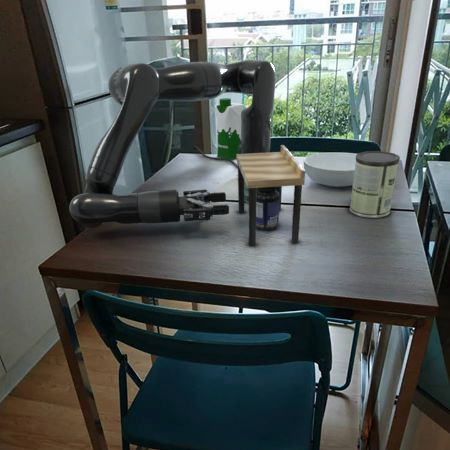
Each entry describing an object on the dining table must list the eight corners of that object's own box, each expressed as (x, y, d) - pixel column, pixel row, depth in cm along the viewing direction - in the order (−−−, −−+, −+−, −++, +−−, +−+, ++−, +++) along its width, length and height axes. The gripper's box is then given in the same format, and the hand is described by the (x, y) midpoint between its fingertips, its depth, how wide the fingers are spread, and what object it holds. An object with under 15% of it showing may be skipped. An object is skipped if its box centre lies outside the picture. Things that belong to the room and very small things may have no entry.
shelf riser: (237, 211, 118) (236, 147, 109) (281, 208, 118) (283, 145, 109) (247, 246, 99) (247, 173, 90) (300, 243, 100) (305, 170, 91)
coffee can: (353, 201, 121) (360, 149, 113) (392, 206, 117) (402, 152, 110) (345, 215, 113) (352, 159, 106) (386, 220, 109) (397, 163, 102)
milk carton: (213, 157, 165) (211, 99, 154) (229, 152, 170) (228, 95, 160) (231, 160, 160) (230, 101, 149) (247, 155, 165) (247, 97, 155)
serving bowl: (376, 176, 139) (379, 154, 136) (365, 197, 124) (368, 173, 120) (311, 170, 147) (313, 149, 143) (293, 189, 131) (295, 166, 127)
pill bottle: (278, 221, 111) (280, 178, 105) (278, 231, 106) (280, 186, 100) (254, 221, 112) (254, 178, 106) (253, 230, 106) (253, 186, 101)
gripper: (155, 202, 96) (229, 197, 97) (158, 182, 108) (224, 178, 109) (159, 233, 100) (230, 229, 101) (161, 211, 112) (225, 207, 113)
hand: (227, 202), depth 105 cm, fingers open, 8 cm apart
